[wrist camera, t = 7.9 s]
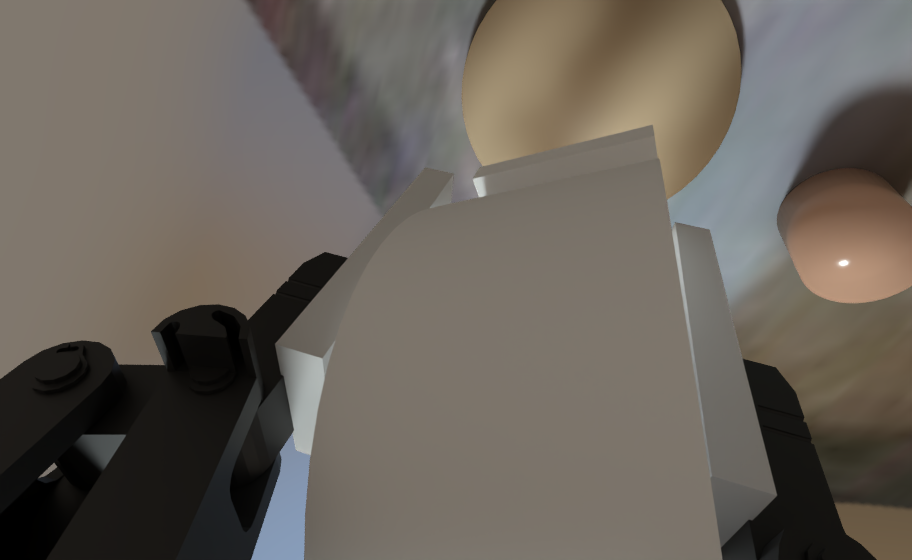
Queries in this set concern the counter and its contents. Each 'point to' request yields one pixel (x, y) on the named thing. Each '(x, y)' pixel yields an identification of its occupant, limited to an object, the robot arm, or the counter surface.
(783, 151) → the counter surface
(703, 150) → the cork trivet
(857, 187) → the peach domed cylinder
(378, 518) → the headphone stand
